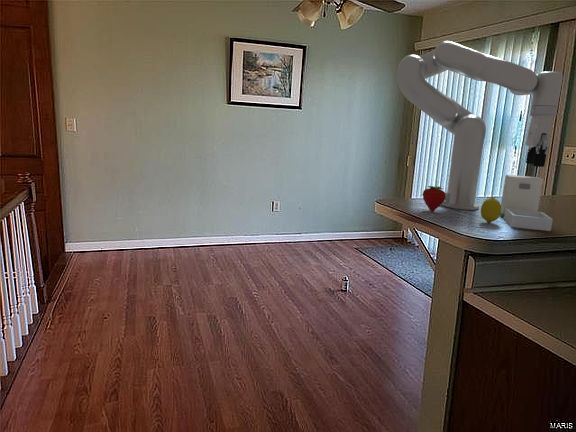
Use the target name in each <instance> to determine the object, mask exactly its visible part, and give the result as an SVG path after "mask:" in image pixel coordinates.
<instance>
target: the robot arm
mask: <svg viewBox="0 0 576 432" xmlns="http://www.w3.org/2000/svg"><path fill="white" fill-rule="evenodd" d="M446 71H451V72H453V73H455V74H458V75H461V76H464V77H466V78H468V79H471V80H474V81H478V82H487V83H490V84H494V85H497V86H500V87H501V88H502V87H503V88H505V89H508V90H509V92H510V93H511V94H513V95H515V96H529V95H532V101H531V106H530V112H529V116H530V117H531V118H530V122H529V126H528V131H527V135H526V136H527V137H526V141H525V145H526V147H528V149H527V151H526V153H527V154H526V158H525V159H526V160H525V164H531V165H533V167H536V168H537V167H538V168H539V167H540V168H541V167H542V168H544V167H545V165H546V161H547V153H548V147H550V146H549V145H550V142H551V135H552V129H553V118H556V117H557V114H558V113H557V112H558V107H559V103H560V102H559V101H560V96H561V89H562V84H563V79H564V78H563V74H562V73H561V72H559V71H541V72H539V73H536V72H534V71H533V70H531V68H527V67H525V66H522V65H519V64H517V63H514V62H511V61H509V60H505V59H502V58H499V57H496V56H493V55H490V54H486V53H484V52H480V51H478V50H475V49H473V48H470V47H467V46H464V45H462V44H460V43H457V42H453V41H450V40H444V41H441V42H439V43H438V44H437V45H436V47H435V48H434V49H433V50H431V51H428V52H426V53H424V54H421V55H417V54H408V55H406V56H404V57H402V59H401V61H400V62H399V64H398V67H397V71H396V72H397V73H396V81H397V86H398V88H399V90H400V92H401V93H402V95H403V97H405V98H406V99H407V101H409V102H410V103H411V104H412V105H414V106H415V107H417V108H418V110H420V111H422V112H423V113H424V114H426V116H428V117H430V118H431V119H432V121H433V122H435V123H437V124H438V125H439V126H441V127H442V128H443V129H445V130H446V131H448V132H449V133H451V134H452V135H453V144H452V152H451V159H450V160H451V162H450V168H449V175H448V184H447V191H446V190H445V191H444V192H445V195H446V197H445V199H444V202H443V203H442V204H441V205H440V206H443V207H446V208H449V209H450V208H451V209H456V210H465V211H467V210H468V211H476V210H478V209H479V207H480V205H479V204H478V203H476V198H477V197H476V196H477V189H478V183H479V175H480V170H481V163H482V156H483V148H484V144H485V138H486V134H487V133H486V132H487V125H486V123H485V121H484V119H483V118H482V117H480V116H478V115H476V114H474V113H473V112H471V111H470V110H469V109H467V108H466V107H464V106H462V105H461V104H459V103H458V102H457V101H456V100H455V99H454V98H452V97H450V96H448V95H446V94H445V93H443V92H442V91H440V90H438V89H437V88H436V87H435V86H434V85H432V84H430V83H429V82H428V81H427V79H429V78H431V77H434V76H437V75H439V74H441V73H443V72H446Z"/></svg>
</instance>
